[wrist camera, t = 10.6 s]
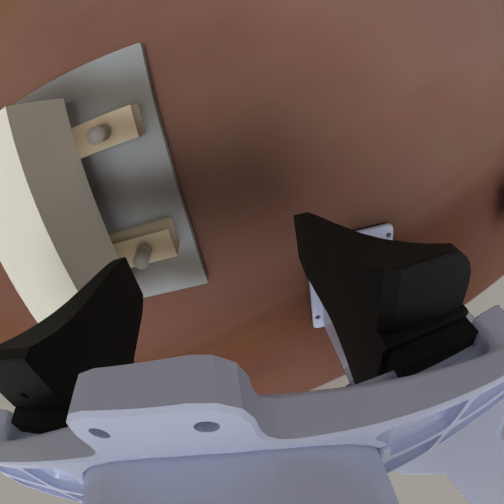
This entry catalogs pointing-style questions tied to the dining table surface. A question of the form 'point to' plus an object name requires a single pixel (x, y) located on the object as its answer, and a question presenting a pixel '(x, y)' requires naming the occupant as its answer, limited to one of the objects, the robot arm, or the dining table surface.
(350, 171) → the dining table surface
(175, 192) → the grey peg board
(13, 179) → the clay bar
